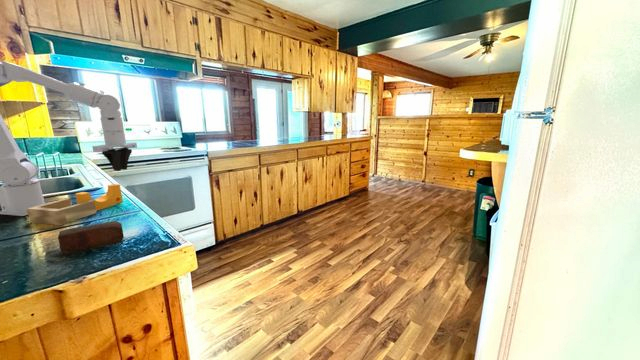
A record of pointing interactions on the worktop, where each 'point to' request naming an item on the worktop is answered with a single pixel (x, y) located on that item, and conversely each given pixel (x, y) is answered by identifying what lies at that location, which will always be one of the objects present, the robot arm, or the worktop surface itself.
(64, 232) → the brick
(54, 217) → the wooden open tray
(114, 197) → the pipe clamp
